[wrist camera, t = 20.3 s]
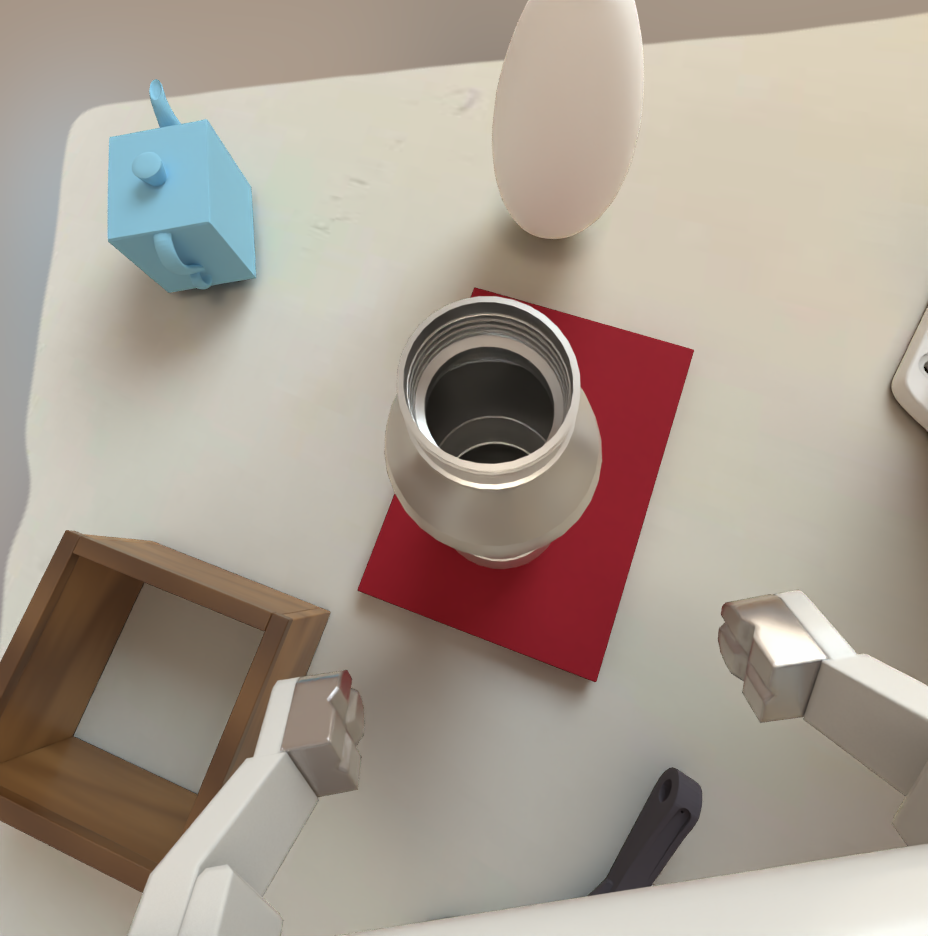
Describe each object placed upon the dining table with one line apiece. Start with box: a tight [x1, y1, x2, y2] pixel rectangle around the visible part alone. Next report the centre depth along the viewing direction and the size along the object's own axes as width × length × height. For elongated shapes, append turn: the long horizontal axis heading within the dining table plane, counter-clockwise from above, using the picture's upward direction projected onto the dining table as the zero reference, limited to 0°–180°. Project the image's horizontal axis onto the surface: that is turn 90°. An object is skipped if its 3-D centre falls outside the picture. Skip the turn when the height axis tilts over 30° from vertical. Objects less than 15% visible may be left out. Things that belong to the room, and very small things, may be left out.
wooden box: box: [0, 530, 330, 893], centre depth 27 cm, size 13×13×6 cm
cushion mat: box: [358, 288, 694, 682], centre depth 30 cm, size 20×14×1 cm
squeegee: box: [588, 768, 702, 896], centre depth 25 cm, size 14×15×3 cm
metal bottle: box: [384, 296, 602, 569], centre depth 20 cm, size 6×7×20 cm
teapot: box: [108, 79, 256, 293], centre depth 32 cm, size 12×6×8 cm, turn 8°
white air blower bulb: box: [492, 0, 644, 239], centre depth 26 cm, size 8×8×18 cm
